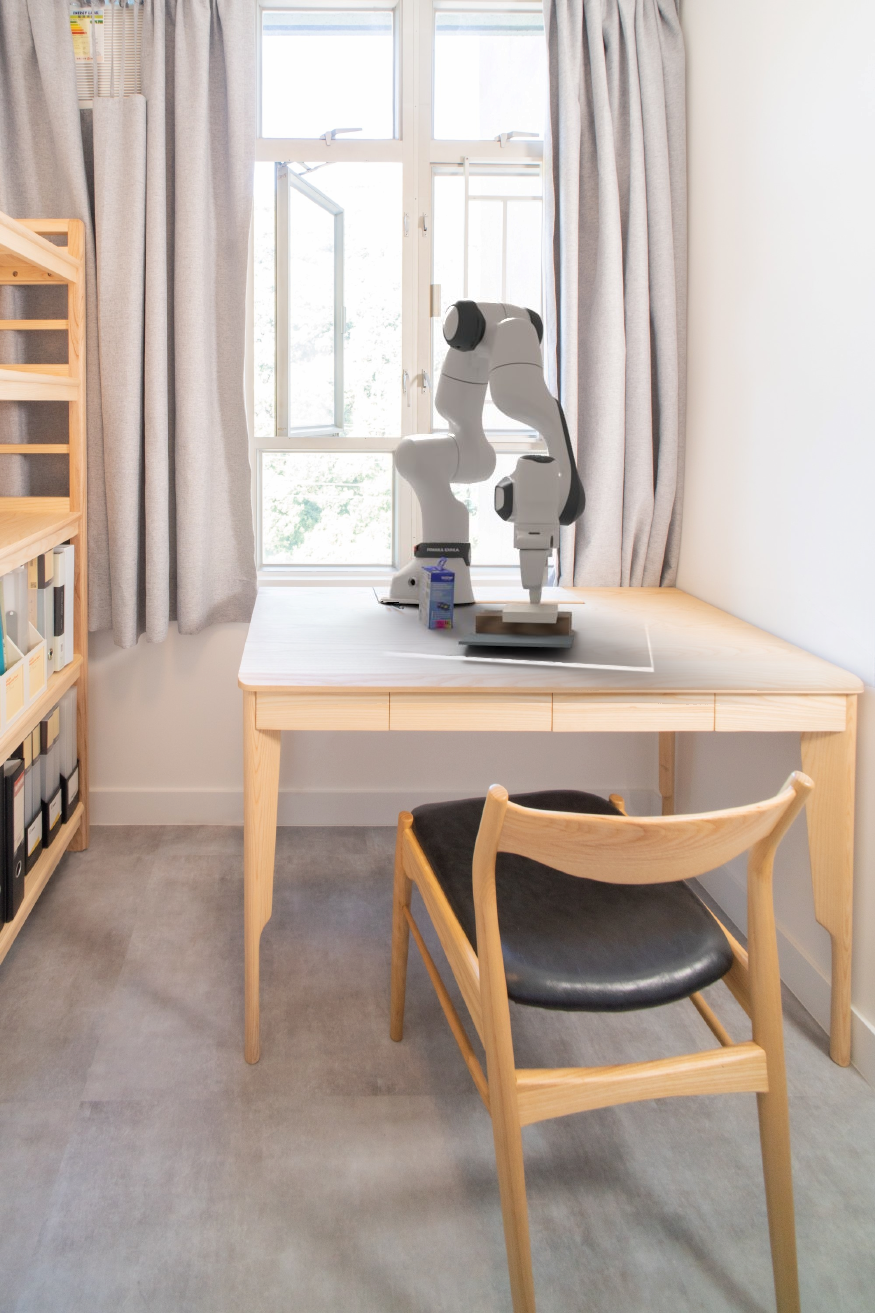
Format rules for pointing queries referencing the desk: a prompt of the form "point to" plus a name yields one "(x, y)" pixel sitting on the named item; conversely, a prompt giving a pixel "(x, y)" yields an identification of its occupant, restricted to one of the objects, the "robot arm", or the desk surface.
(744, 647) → the desk surface
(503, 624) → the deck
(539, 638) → the mat
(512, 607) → the white flat block
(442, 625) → the ink cartridge box
